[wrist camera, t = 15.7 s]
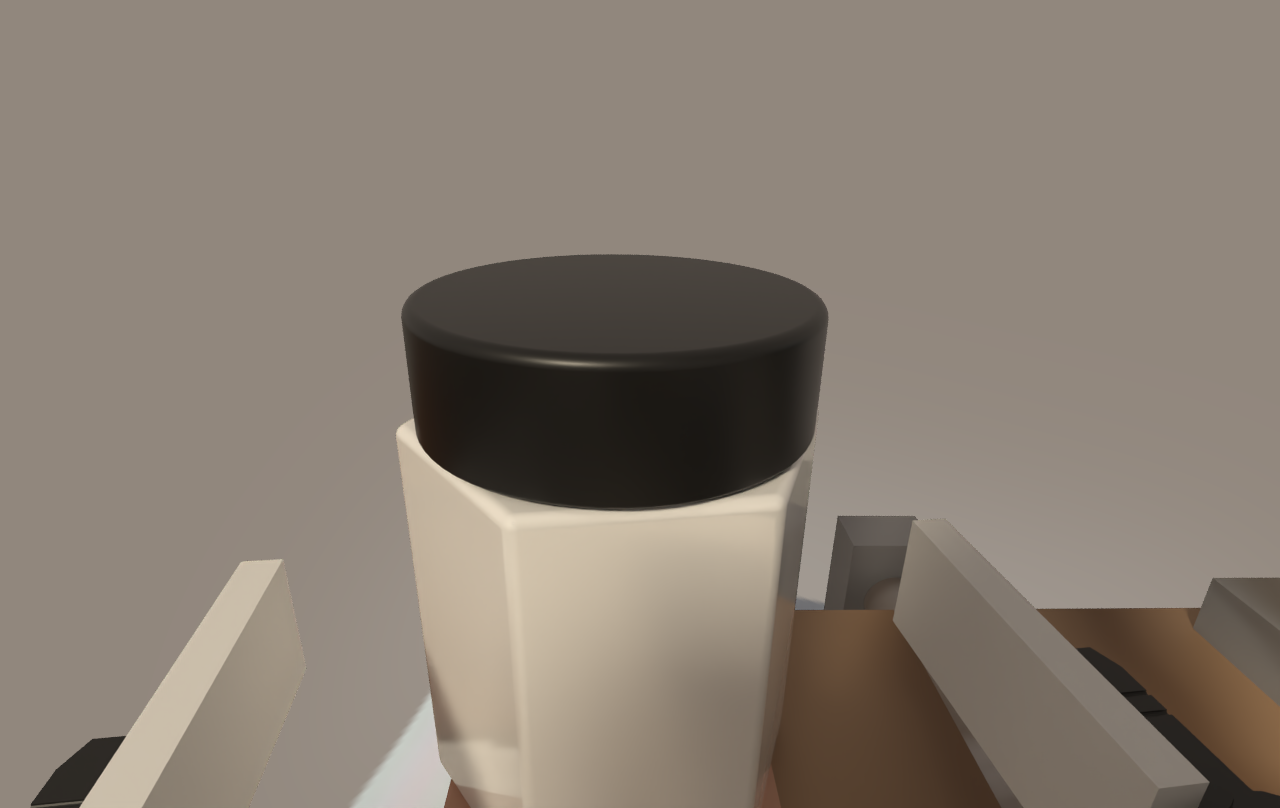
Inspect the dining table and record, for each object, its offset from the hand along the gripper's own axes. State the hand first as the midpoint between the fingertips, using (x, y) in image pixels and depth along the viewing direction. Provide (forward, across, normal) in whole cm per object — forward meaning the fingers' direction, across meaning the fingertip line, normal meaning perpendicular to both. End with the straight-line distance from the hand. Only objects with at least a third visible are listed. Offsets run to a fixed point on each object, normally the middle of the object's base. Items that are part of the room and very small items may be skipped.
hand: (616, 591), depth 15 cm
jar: (+1, 0, -6) cm, 6 cm away
